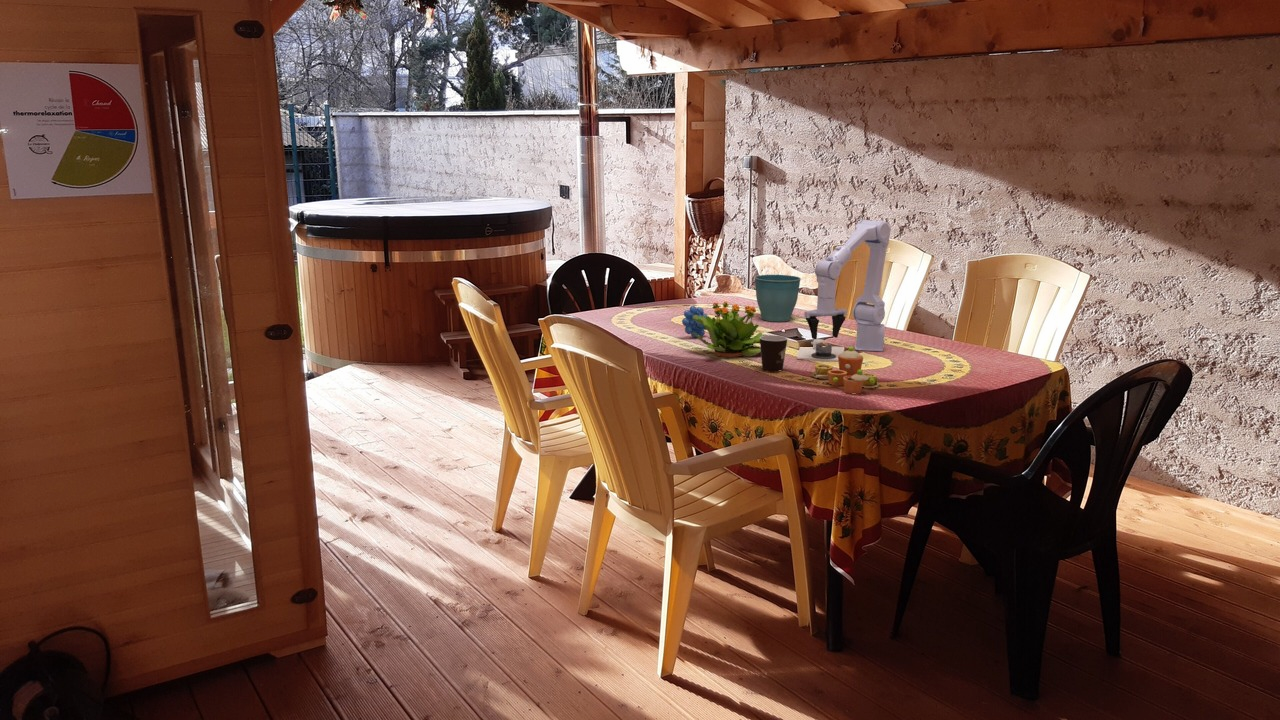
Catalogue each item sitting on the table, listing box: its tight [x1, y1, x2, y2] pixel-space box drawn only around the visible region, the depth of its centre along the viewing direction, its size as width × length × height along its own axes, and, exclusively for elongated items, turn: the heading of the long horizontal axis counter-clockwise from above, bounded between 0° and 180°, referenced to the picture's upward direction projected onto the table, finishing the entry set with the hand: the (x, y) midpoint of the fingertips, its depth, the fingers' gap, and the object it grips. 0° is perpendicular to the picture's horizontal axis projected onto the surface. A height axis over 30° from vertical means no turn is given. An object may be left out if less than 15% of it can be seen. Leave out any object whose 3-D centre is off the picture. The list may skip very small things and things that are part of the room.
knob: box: [815, 342, 832, 357], centre depth 313 cm, size 5×5×4 cm
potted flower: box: [692, 300, 768, 358], centre depth 317 cm, size 25×24×18 cm
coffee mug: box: [759, 334, 788, 372], centre depth 299 cm, size 12×9×10 cm
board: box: [796, 338, 845, 363], centre depth 319 cm, size 15×20×4 cm
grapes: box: [681, 305, 708, 339], centre depth 342 cm, size 12×7×12 cm, turn 123°
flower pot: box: [754, 274, 802, 323], centre depth 377 cm, size 18×18×17 cm
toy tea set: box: [810, 346, 879, 394], centre depth 281 cm, size 26×16×10 cm, turn 16°
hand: (824, 337), depth 312 cm, fingers open, 7 cm apart
